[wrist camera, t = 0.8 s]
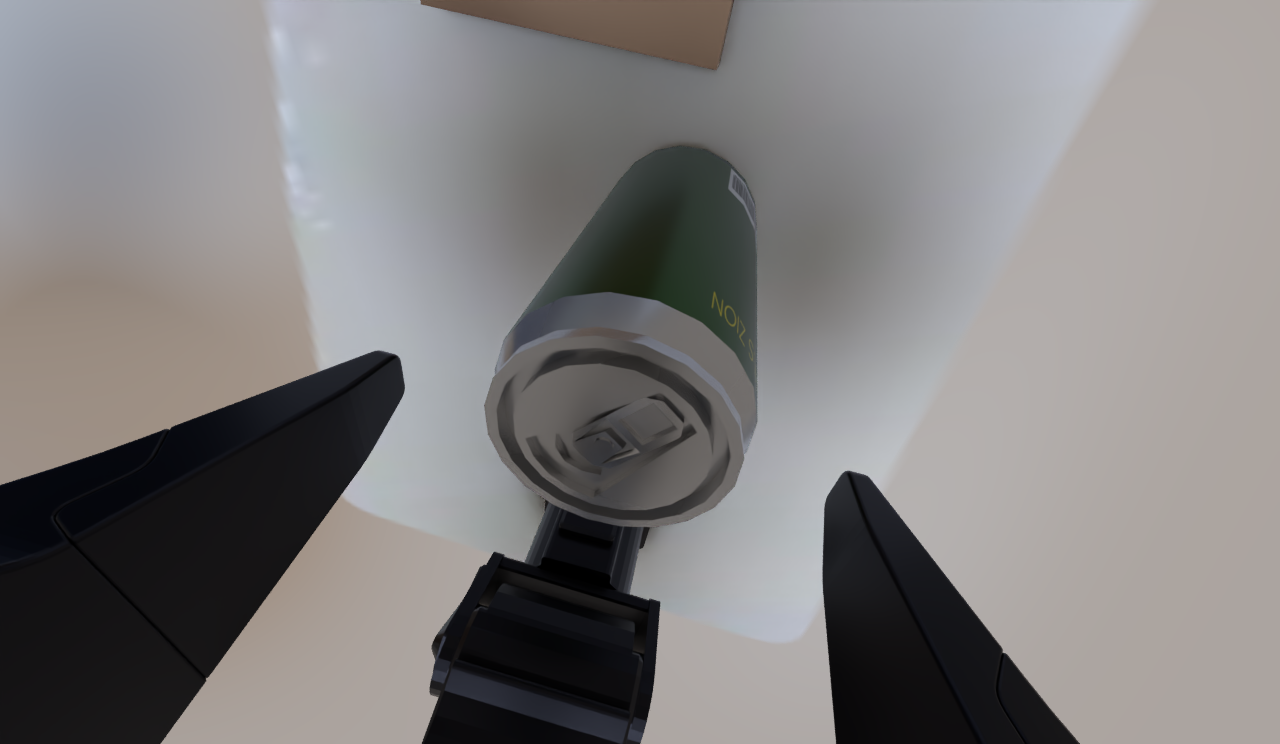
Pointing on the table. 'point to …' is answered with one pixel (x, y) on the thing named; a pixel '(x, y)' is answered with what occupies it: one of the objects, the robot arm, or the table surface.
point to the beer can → (639, 351)
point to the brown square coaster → (618, 23)
